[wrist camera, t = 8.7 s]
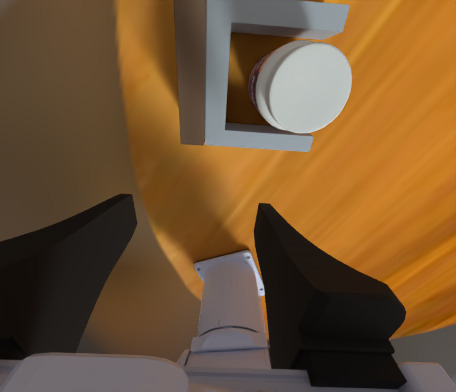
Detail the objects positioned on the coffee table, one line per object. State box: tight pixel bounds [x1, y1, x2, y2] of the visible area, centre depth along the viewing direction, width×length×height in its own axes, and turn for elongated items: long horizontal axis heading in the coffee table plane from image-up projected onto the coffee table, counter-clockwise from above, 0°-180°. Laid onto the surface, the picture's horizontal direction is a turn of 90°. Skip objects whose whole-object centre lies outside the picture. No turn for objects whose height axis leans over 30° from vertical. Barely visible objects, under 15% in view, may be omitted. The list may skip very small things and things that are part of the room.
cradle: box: [205, 0, 350, 152], centre depth 16 cm, size 8×9×3 cm
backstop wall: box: [174, 0, 207, 145], centre depth 15 cm, size 2×9×5 cm, turn 176°
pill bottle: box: [248, 40, 352, 133], centre depth 14 cm, size 5×5×8 cm
